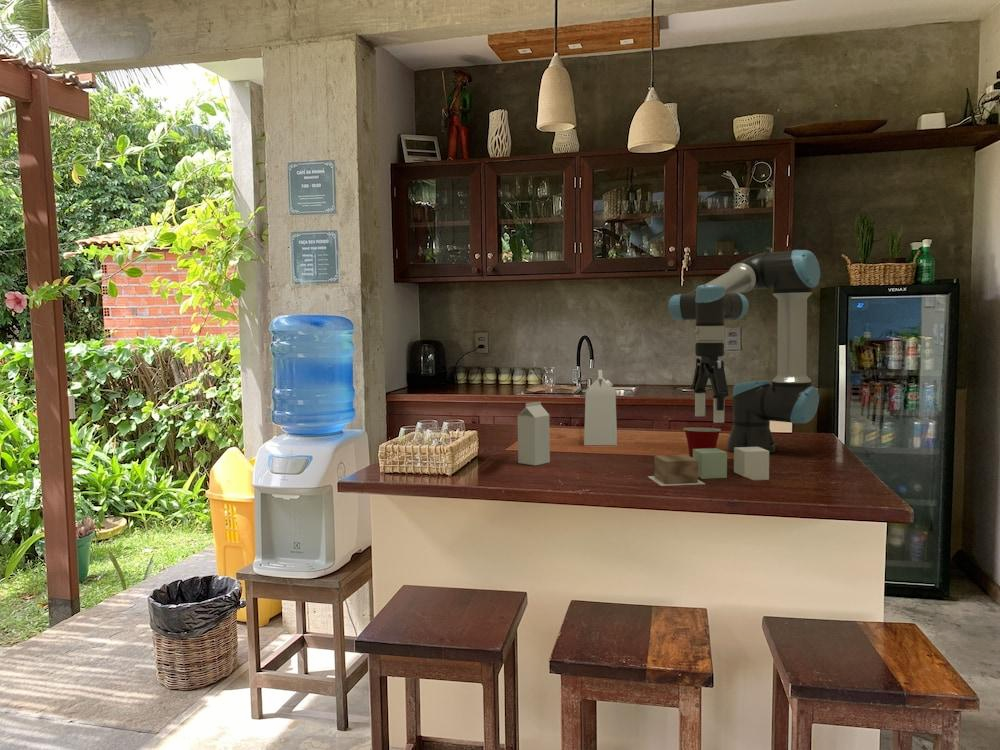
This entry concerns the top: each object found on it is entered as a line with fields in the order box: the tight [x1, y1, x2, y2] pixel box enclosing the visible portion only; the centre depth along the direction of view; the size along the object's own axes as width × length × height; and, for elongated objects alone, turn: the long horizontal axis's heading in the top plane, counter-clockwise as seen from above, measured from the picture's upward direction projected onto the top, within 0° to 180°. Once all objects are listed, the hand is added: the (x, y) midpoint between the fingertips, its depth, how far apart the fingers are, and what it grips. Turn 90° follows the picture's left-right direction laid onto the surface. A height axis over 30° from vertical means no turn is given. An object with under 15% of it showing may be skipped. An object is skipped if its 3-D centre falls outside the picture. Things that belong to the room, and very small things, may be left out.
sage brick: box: [693, 447, 728, 480], centre depth 211 cm, size 7×7×8 cm
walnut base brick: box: [653, 454, 699, 484], centre depth 206 cm, size 9×9×6 cm
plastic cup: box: [683, 427, 722, 458], centre depth 227 cm, size 11×11×12 cm
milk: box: [583, 369, 618, 446], centre depth 272 cm, size 12×12×26 cm
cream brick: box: [733, 447, 770, 481], centre depth 213 cm, size 7×7×8 cm
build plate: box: [647, 475, 706, 487], centre depth 206 cm, size 12×12×1 cm
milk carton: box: [517, 401, 551, 466], centre depth 238 cm, size 7×7×19 cm
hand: (709, 419), depth 210 cm, fingers open, 13 cm apart
